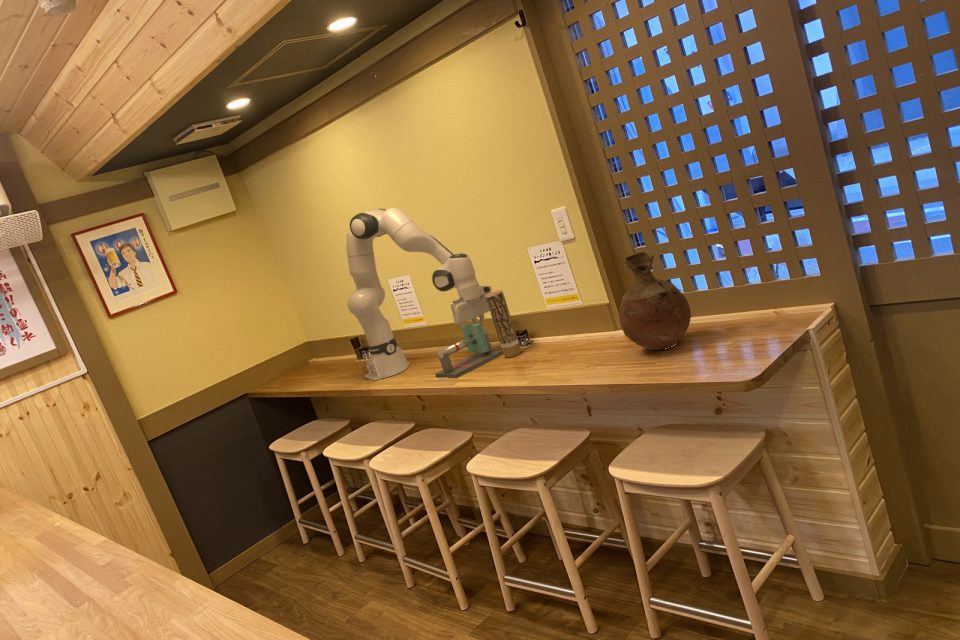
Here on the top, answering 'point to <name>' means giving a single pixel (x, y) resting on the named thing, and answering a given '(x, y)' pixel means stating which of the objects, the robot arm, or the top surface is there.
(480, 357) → the base board
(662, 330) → the jug
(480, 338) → the collar
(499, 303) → the bark covered log
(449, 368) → the pipe rig
